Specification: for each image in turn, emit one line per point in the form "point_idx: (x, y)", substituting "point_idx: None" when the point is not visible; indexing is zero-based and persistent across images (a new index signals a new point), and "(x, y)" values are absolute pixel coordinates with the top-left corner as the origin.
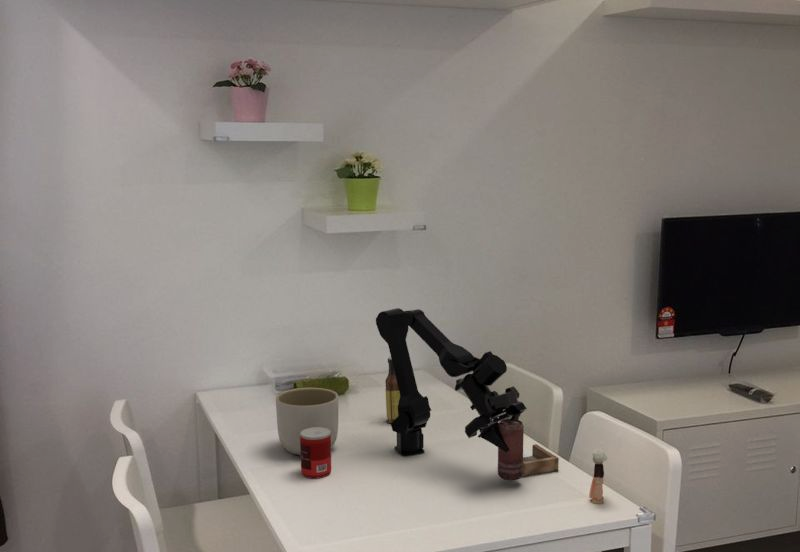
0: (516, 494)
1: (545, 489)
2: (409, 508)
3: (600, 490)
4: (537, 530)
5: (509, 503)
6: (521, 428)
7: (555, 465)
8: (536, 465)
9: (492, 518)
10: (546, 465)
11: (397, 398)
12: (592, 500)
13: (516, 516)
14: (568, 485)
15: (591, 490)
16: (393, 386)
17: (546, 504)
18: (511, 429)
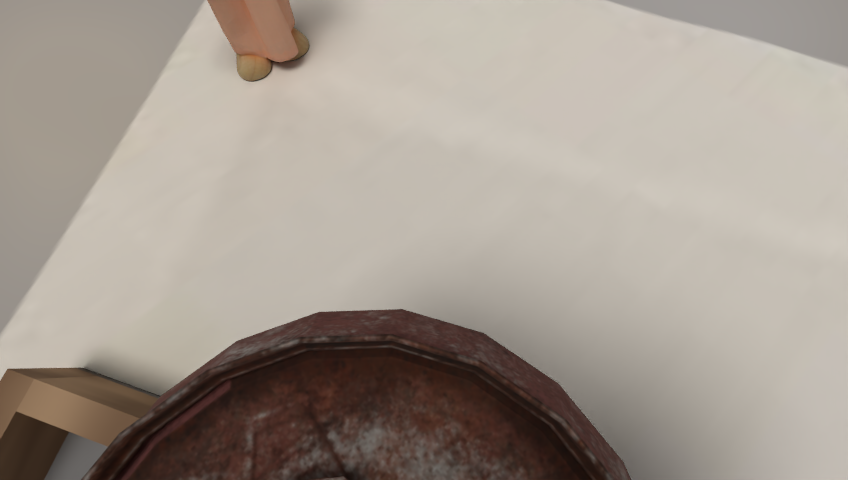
0: (485, 302)
1: (333, 251)
2: None
3: None
4: (656, 28)
5: (585, 252)
6: (326, 312)
7: (68, 374)
8: None
9: (749, 194)
10: (117, 395)
11: None
12: (302, 45)
13: (647, 146)
14: (218, 213)
15: (285, 21)
16: None
17: (460, 145)
18: (562, 403)
